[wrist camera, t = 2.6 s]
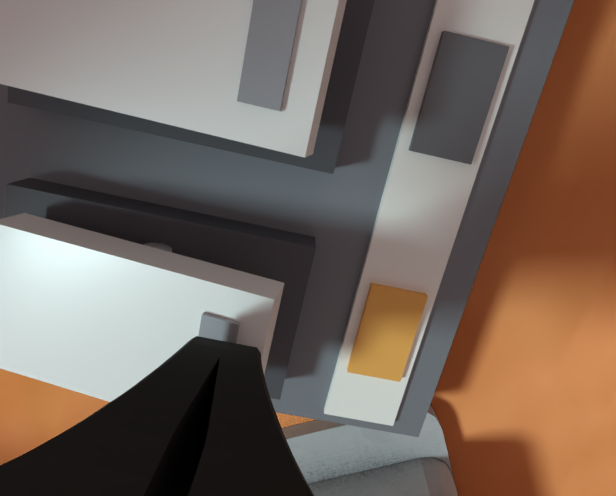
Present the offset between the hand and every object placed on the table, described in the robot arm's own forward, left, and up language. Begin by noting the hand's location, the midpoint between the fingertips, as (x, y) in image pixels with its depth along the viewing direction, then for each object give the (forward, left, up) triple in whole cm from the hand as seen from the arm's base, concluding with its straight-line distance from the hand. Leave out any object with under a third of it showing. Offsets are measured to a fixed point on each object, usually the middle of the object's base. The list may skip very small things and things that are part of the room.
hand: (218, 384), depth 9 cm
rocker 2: (-2, 0, -2) cm, 3 cm away
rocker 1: (-2, +6, -2) cm, 7 cm away
